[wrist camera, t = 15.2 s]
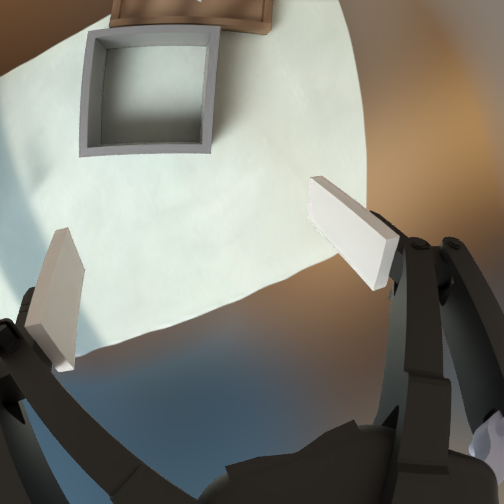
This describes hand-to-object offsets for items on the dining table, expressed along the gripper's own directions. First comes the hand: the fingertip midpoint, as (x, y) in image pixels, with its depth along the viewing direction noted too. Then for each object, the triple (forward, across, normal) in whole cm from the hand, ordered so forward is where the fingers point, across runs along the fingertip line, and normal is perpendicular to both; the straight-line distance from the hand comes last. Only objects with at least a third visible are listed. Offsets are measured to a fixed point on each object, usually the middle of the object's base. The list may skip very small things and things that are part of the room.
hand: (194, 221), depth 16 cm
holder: (+27, -1, +5) cm, 27 cm away
